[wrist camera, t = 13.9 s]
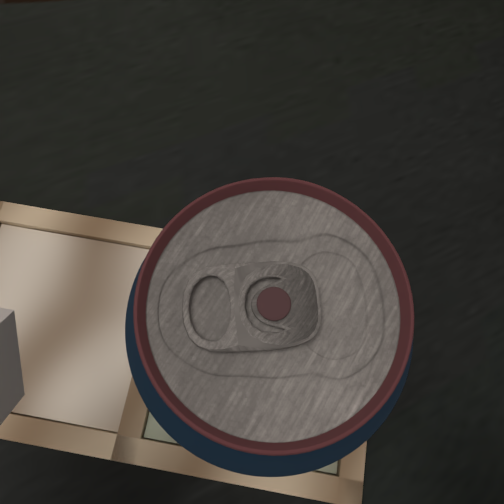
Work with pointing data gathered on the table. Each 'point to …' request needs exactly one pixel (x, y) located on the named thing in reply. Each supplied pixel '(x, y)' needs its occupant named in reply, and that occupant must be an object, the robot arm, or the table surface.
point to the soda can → (270, 327)
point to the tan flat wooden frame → (103, 352)
